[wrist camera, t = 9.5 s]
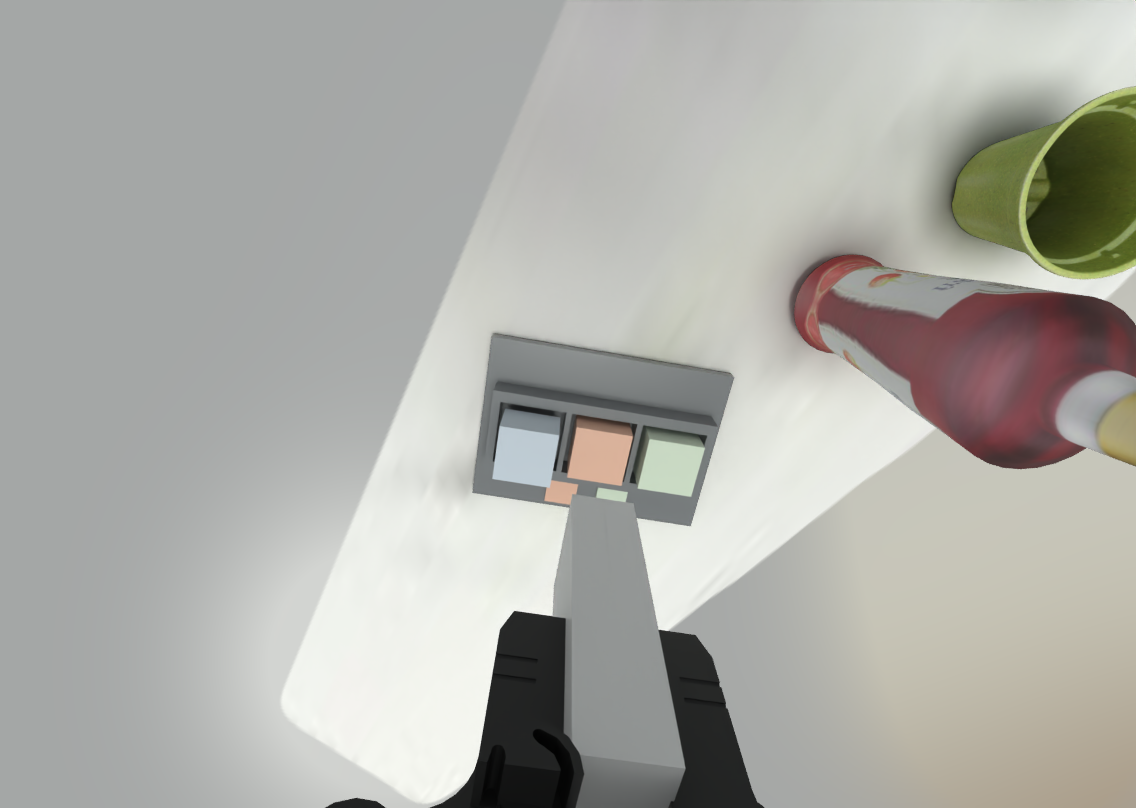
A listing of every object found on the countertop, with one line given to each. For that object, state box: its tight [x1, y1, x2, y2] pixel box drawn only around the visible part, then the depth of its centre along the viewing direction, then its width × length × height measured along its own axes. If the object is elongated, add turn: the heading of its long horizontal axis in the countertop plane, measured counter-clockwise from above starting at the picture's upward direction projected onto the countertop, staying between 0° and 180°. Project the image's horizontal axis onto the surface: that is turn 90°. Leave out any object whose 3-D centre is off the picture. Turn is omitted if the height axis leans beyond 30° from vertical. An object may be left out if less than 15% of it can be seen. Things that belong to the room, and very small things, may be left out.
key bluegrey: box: [492, 409, 560, 488], centre depth 39 cm, size 4×4×3 cm
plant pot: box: [952, 86, 1136, 279], centre depth 33 cm, size 9×9×9 cm
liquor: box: [794, 255, 1136, 469], centre depth 27 cm, size 7×7×28 cm
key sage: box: [633, 425, 705, 497], centre depth 41 cm, size 4×4×3 cm
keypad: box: [472, 334, 734, 526], centre depth 42 cm, size 13×18×3 cm
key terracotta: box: [567, 414, 633, 486], centre depth 41 cm, size 4×4×3 cm
